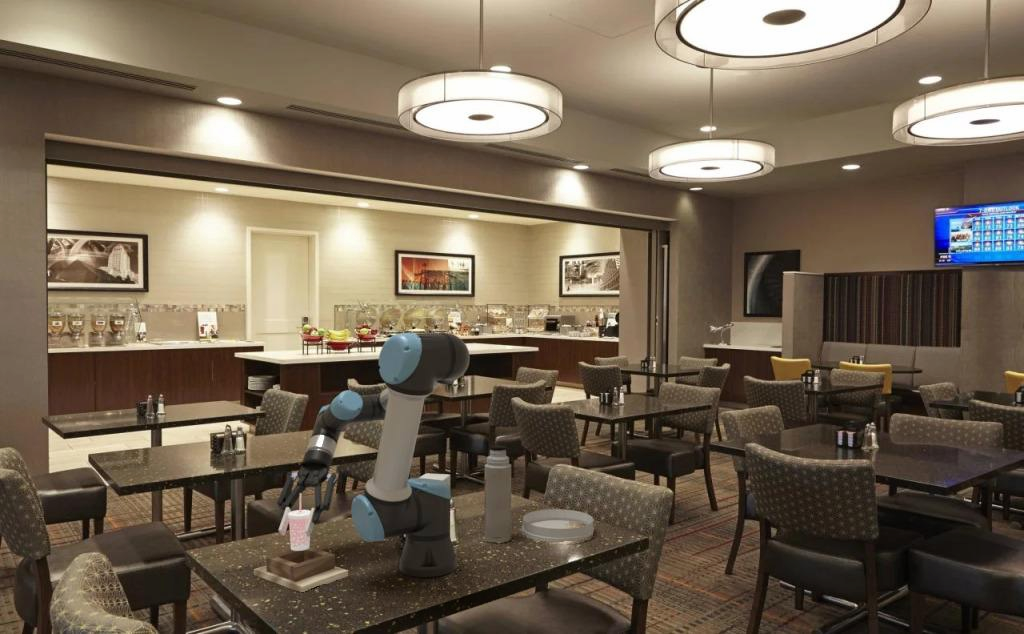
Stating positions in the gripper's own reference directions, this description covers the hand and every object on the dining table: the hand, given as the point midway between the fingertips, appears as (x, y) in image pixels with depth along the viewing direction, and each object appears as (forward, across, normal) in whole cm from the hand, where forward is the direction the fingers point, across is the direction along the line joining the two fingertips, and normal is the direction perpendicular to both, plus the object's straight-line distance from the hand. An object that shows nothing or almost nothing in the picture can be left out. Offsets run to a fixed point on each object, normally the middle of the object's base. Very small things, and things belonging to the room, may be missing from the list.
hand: (294, 533), depth 177 cm
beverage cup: (+1, 0, -6) cm, 6 cm away
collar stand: (+6, 0, -11) cm, 12 cm away
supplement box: (-30, -24, -47) cm, 61 cm away
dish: (-24, -65, -41) cm, 80 cm away
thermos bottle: (-18, -47, -35) cm, 62 cm away
